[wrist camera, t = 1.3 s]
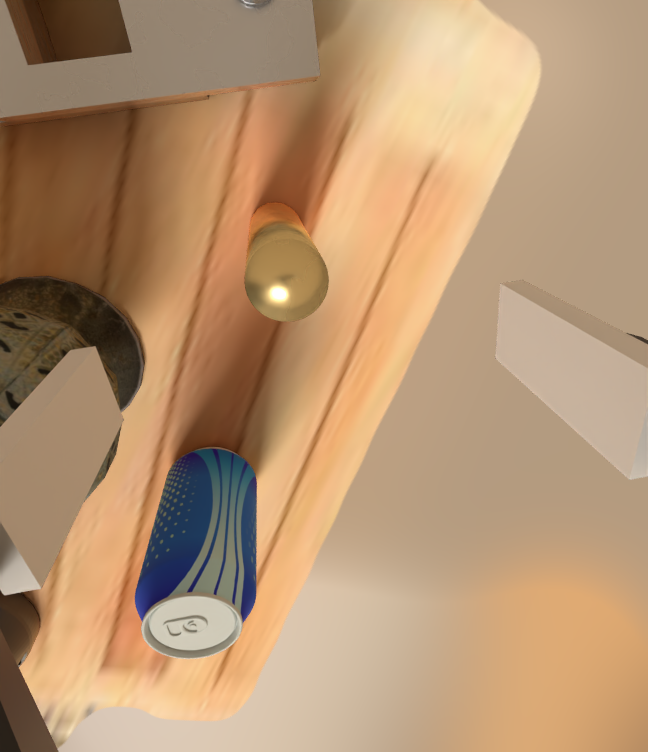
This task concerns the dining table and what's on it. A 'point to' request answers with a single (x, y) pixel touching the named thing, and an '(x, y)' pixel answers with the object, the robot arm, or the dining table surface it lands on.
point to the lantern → (63, 342)
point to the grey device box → (155, 57)
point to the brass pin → (283, 265)
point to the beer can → (200, 556)
